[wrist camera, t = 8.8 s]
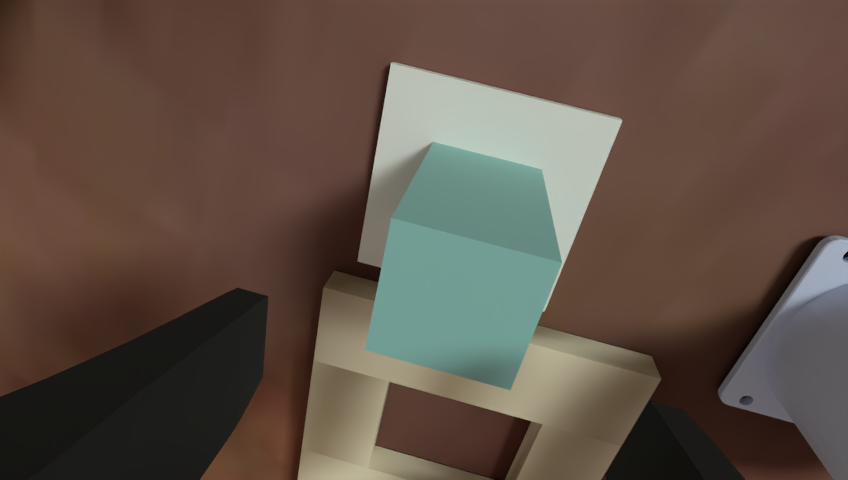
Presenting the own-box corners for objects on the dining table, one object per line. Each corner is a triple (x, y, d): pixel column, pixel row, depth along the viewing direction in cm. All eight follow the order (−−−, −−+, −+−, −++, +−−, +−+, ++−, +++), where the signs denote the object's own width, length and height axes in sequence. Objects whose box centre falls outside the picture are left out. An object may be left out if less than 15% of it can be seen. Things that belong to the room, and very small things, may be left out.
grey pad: (620, 118, 16) (622, 120, 16) (543, 306, 20) (544, 311, 19) (393, 61, 16) (391, 63, 16) (360, 256, 20) (357, 261, 20)
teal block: (541, 169, 17) (561, 262, 11) (509, 263, 19) (510, 390, 12) (433, 141, 17) (391, 218, 11) (411, 237, 19) (365, 350, 13)
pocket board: (651, 356, 20) (661, 379, 19) (544, 544, 26) (546, 571, 25) (334, 270, 21) (323, 287, 19) (304, 475, 27) (294, 497, 26)
